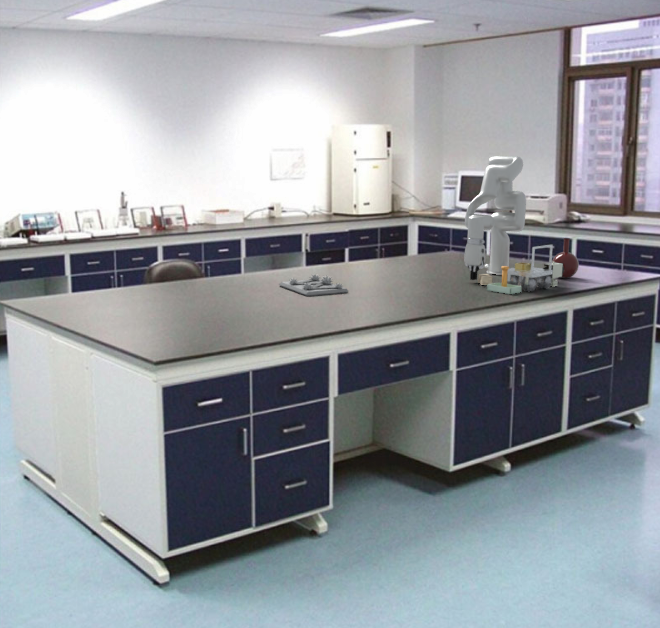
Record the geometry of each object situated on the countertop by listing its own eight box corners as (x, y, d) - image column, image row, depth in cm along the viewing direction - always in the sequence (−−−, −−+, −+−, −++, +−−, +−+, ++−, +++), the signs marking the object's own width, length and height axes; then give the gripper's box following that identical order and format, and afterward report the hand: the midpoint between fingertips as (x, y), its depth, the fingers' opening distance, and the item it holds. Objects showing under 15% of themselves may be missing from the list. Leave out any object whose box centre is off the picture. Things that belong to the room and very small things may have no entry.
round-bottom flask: (583, 279, 441) (586, 239, 437) (564, 281, 435) (566, 240, 430) (564, 275, 452) (566, 236, 448) (545, 277, 446) (547, 237, 442)
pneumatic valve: (563, 285, 421) (565, 261, 418) (549, 288, 413) (550, 263, 411) (553, 284, 425) (555, 259, 422) (539, 287, 417) (540, 261, 415)
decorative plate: (278, 287, 414) (278, 272, 413) (318, 283, 424) (318, 269, 423) (307, 297, 388) (307, 281, 387) (349, 294, 398) (349, 278, 397)
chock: (477, 283, 427) (478, 274, 426) (487, 283, 427) (488, 274, 426) (481, 286, 419) (482, 276, 418) (492, 286, 419) (492, 276, 418)
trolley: (501, 288, 414) (504, 243, 409) (522, 284, 424) (524, 241, 420) (532, 293, 401) (534, 247, 397) (552, 289, 412) (555, 244, 408)
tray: (486, 290, 406) (487, 284, 406) (497, 288, 412) (498, 282, 411) (510, 294, 397) (510, 288, 396) (521, 292, 402) (521, 286, 402)
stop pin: (498, 290, 404) (499, 266, 402) (503, 289, 406) (504, 265, 404) (504, 291, 402) (505, 267, 399) (509, 290, 404) (510, 266, 402)
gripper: (492, 242, 421) (490, 280, 424) (468, 239, 432) (466, 276, 435) (482, 243, 416) (480, 282, 420) (458, 240, 427) (456, 278, 431)
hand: (473, 279), depth 427 cm, fingers closed
